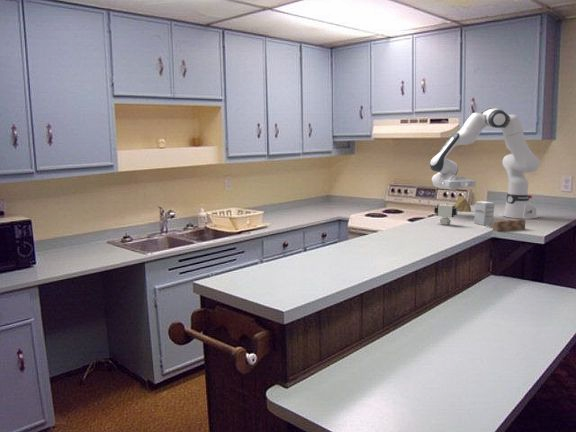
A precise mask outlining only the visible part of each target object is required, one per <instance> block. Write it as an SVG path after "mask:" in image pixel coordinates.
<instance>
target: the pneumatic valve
mask: <svg viewBox="0 0 576 432" xmlns="http://www.w3.org/2000/svg"><path fill="white" fill-rule="evenodd" d="M458 212H459V211H458V208H456V207H455V204H454V205H453V204H448V202H445V204H444V203H442V204H441V203H439V204H437V205H435V207H434V214H435V215H436V217H441V218H440V219H439V223H440V225H443V226H448V225H451V222H452V221H451V219H450V218H455V216H457V215H458Z"/></svg>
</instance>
